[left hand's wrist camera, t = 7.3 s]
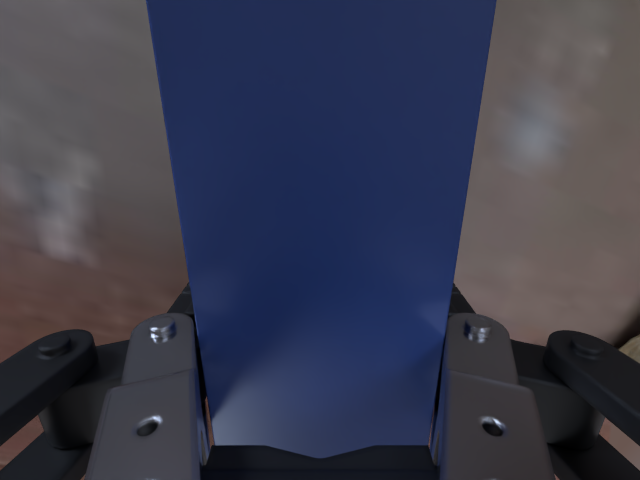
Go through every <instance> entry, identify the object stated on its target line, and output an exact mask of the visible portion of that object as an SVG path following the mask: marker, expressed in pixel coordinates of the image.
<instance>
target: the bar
mask: <svg viewBox="0 0 640 480" xmlns="http://www.w3.org/2000/svg"><path fill="white" fill-rule="evenodd" d="M146 3H147V10H148V16H149V23H150V29H151V36H152V42H153V49H154V55H155V62H156V68H157V75H158V81H159V88H160V94H161V101H162V107H163V114H164V120H165V127H166V133H167V140H168V146H169V153H170V159H171V166H172V172H173V179H174V185H175V192H176V198H177V205H178V211H179V218H180V224H181V231H182V237H183V244H184V250H185V257H186V263H187V270H188V276H189V282H190V289H191V295H192V302H193V308H194V315H195V321H196V328H197V334H198V341H199V347H200V354H201V360H202V367H203V373H204V380H205V386H206V393H207V399H208V406H209V412H210V419H211V425H212V432H213V438H214V445H266V446H270V447H274V448H278V449H282V450H286V451H290V452H294V453H298V454H302V455H306V456H310V457H314V458H326V457H330V456H334V455H338V454H342V453H346V452H350V451H354V450H358V449H362V448H366V447H370V446H374V445H428V443H429V436H430V430H431V423H432V417H433V410H434V404H435V397H436V391H437V384H438V378H439V371H440V365H441V358H442V352H443V345H444V339H445V332H446V326H447V319H448V313H449V306H450V300H451V293H452V287H453V280H454V274H455V267H456V261H457V254H458V248H459V241H460V235H461V228H462V222H463V215H464V208H465V202H466V195H467V189H468V182H469V176H470V169H471V163H472V156H473V150H474V143H475V137H476V130H477V124H478V117H479V111H480V104H481V98H482V91H483V85H484V78H485V72H486V65H487V59H488V52H489V46H490V39H491V33H492V26H493V20H494V13H495V7H496V0H146Z"/></svg>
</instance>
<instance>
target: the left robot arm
mask: <svg viewBox="0 0 640 480" xmlns="http://www.w3.org/2000/svg"><path fill="white" fill-rule="evenodd" d="M206 396H207V393H206V386H205V380H204V373H203V367H202V360H201V354H200V347H199V341H198V334H197V328H196V321H195V315H194V308H193V302H192V295H191V289H190V282H189V283H188V284H187V287H185V288H184V290H183V291H182V294H180V295H179V297H178V298H177V299H176V301H175V302H174V304H173V305H172V306H171V308H170V309H169V311H168V312H167V313H165V314H160V315H157V316H153V317H151V318H148V319H147V320H145V321H143V322H141V323H140V324H139V325H137V326H136V327H135V328H134V329H133V331H132V333H131V336H130V340H126V341H121V342H116V343H111V344H106V345H100V346H95V343H94V339H93V336H92V334H91V333H90V332H88V331H85V330H79V329H73V330H65V331H60V332H57V333H53V334H50V335H48V336H45V337H43V338H41V339H39V340H37V341H35V342H33V343H32V344H30V345H28V346H27V347H25V348H24V349H22V350H21V351H19V352H17V353H16V354H14V355H13V356H11V357H10V358H8V359H7V360H5V361H3V362H2V363H0V446H1V445H2V444H3V443H5V442H6V441H7V440H8V439H9V438H11V437H12V436H13V435H14V434H15V433H16V432H18V431H19V430H20V429H21V428H22V427H24V426H25V425H26V424H27V423H28V422H30V421H31V420H32V419H33V418H34V417H35V416H37V415H38V416H39V419H40V421H41V424H42V426H43V429H44V432H43V433H42V434H41V435H39V436H38V437H37V438H36V439H35V440H34V441H33V442H32V443H31V444H29V445H28V446H27V447H26V448H25V449H24V450H23V451H22V452H21V453H19V454H18V455H17V456H16V457H15V458H14V459H13V460H12V461H11V462H10V463H8V464H7V465H6V466H5V467H4V468H3V469H2V470H1V471H0V480H80V479H81V478H82V477H83V476H84V475H85V474H86V475H85V479H84V480H556V479H555V475H556V476H557V477H558V478H559V479H560V480H640V471H639V470H638V469H637V468H636V467H635V466H634V465H633V464H632V463H630V462H629V461H628V460H627V459H626V458H625V457H624V456H623V455H622V454H620V453H619V452H618V451H617V450H616V449H615V448H614V447H613V446H612V445H611V444H609V443H608V442H607V441H606V440H605V439H604V438H603V437H602V436H601V435H599V432H600V429H601V427H602V424H603V421H604V419H605V417H606V418H607V419H608V420H609V421H610V422H612V423H613V424H614V425H615V426H616V427H618V428H619V429H620V430H621V431H622V432H624V433H625V434H626V435H627V436H628V437H630V438H631V439H632V440H633V441H634V442H635V443H637V444H638V445H639V446H640V363H638V362H637V361H635V360H634V359H632V358H630V357H629V356H627V355H626V354H624V353H623V352H621V351H619V350H618V349H616V348H615V347H613V346H612V345H610V344H608V343H607V342H605V341H603V340H601V339H599V338H596V337H594V336H591V335H588V334H585V333H581V332H576V331H569V330H562V331H556V332H553V333H552V334H551V335H550V336H549V338H548V341H547V345H546V347H545V346H540V345H534V344H529V343H524V342H519V341H515V340H512V339H510V336H509V333H508V331H507V329H506V328H505V327H504V326H503V325H501V324H500V323H499V322H497V321H495V320H493V319H491V318H489V317H487V316H483V315H480V314H476V313H475V312H474V310H473V309H472V307H471V306H470V305H469V303H468V302H467V301H466V299H465V298H464V297H463V295H462V294H461V292H460V291H459V290H458V288H457V287H455V284H454V283H453V287H452V293H451V300H450V306H449V313H448V319H447V326H446V332H445V339H444V345H443V352H442V358H441V365H440V371H439V378H438V384H437V391H436V397H435V404H434V410H433V418H432V429H431V440H430V450H429V447H428V445H374V446H370V447H366V448H362V449H358V450H354V451H350V452H346V453H342V454H338V455H334V456H330V457H326V458H314V457H310V456H306V455H302V454H298V453H294V452H290V451H286V450H282V449H278V448H274V447H270V446H266V445H212V447H211V450H210V440H209V429H208V418H207V407H206V401H205V399H206ZM554 473H555V475H554Z"/></svg>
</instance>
